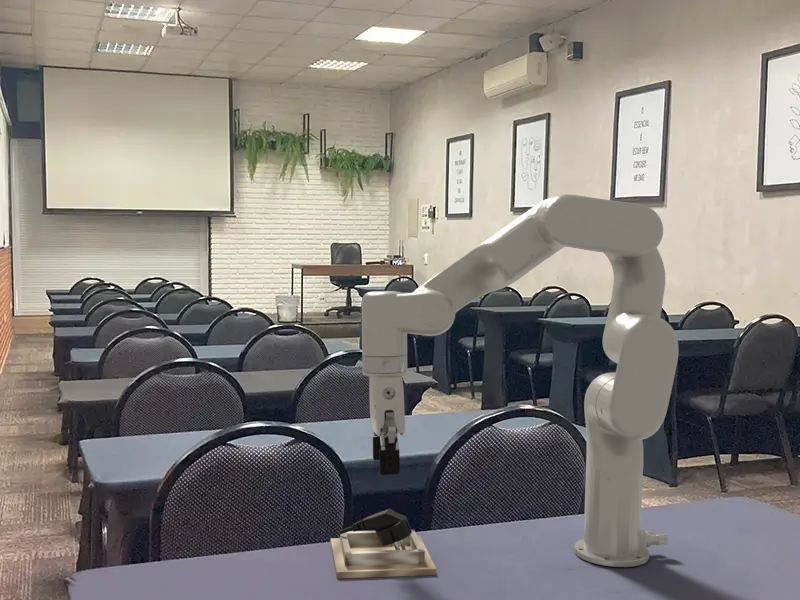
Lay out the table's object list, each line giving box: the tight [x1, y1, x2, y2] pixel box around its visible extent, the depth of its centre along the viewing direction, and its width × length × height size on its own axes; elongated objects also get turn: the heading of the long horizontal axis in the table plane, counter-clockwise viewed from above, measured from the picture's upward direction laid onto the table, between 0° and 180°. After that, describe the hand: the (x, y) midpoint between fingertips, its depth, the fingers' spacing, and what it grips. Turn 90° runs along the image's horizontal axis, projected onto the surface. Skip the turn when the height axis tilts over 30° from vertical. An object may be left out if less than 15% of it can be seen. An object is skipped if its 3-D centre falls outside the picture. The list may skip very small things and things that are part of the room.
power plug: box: [338, 508, 412, 550], centre depth 144 cm, size 6×8×12 cm
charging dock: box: [330, 529, 437, 579], centre depth 143 cm, size 16×16×3 cm
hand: (385, 466), depth 142 cm, fingers open, 9 cm apart
